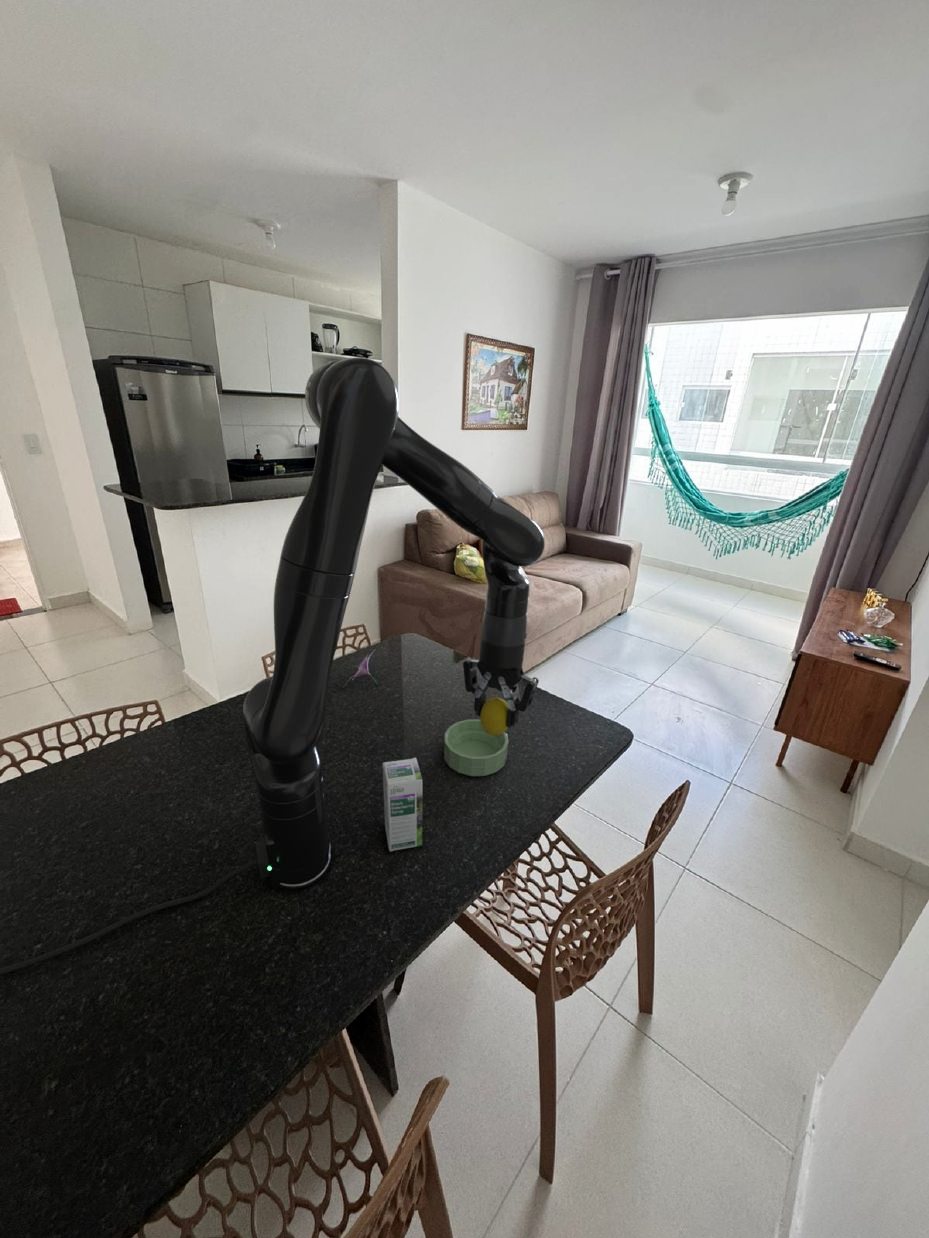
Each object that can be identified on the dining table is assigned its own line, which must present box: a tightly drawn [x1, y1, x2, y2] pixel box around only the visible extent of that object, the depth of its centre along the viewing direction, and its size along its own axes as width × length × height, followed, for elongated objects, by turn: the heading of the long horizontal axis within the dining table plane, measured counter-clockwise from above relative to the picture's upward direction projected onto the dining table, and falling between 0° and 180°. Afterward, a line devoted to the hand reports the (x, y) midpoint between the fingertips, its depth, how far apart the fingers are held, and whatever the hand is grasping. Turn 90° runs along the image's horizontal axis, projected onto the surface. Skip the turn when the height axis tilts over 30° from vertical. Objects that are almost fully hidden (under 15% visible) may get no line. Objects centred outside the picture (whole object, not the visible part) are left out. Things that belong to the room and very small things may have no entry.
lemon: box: [479, 696, 509, 736], centre depth 93 cm, size 6×6×8 cm
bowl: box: [443, 718, 509, 777], centre depth 107 cm, size 13×13×5 cm
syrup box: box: [382, 757, 423, 853], centre depth 86 cm, size 6×6×14 cm
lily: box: [342, 650, 379, 689], centre depth 132 cm, size 12×12×10 cm
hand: (495, 719), depth 93 cm, fingers closed on lemon, 5 cm apart
